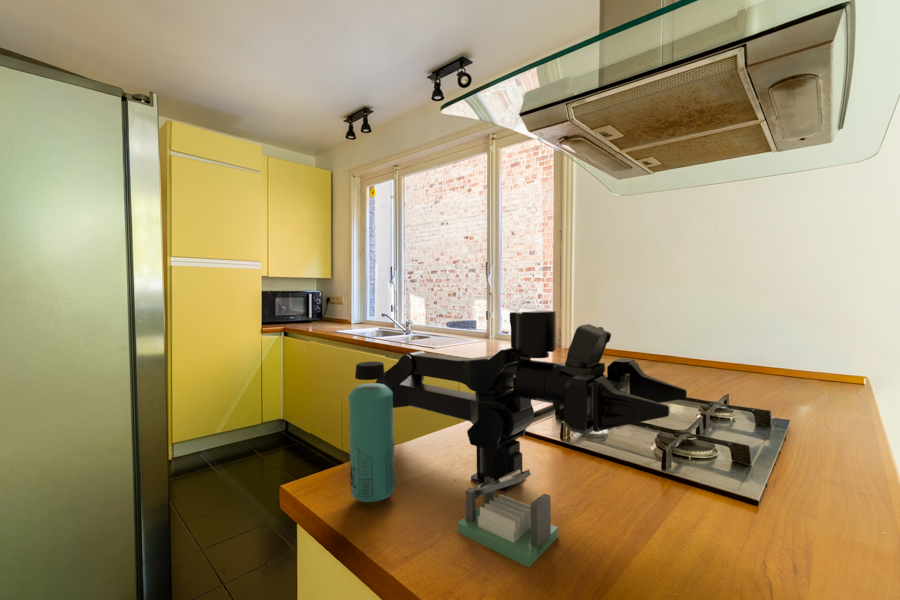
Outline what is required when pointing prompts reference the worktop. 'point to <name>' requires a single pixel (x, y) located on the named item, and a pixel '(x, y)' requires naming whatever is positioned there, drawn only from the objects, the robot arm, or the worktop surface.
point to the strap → (502, 482)
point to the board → (509, 525)
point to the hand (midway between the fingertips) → (678, 402)
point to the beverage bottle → (371, 436)
